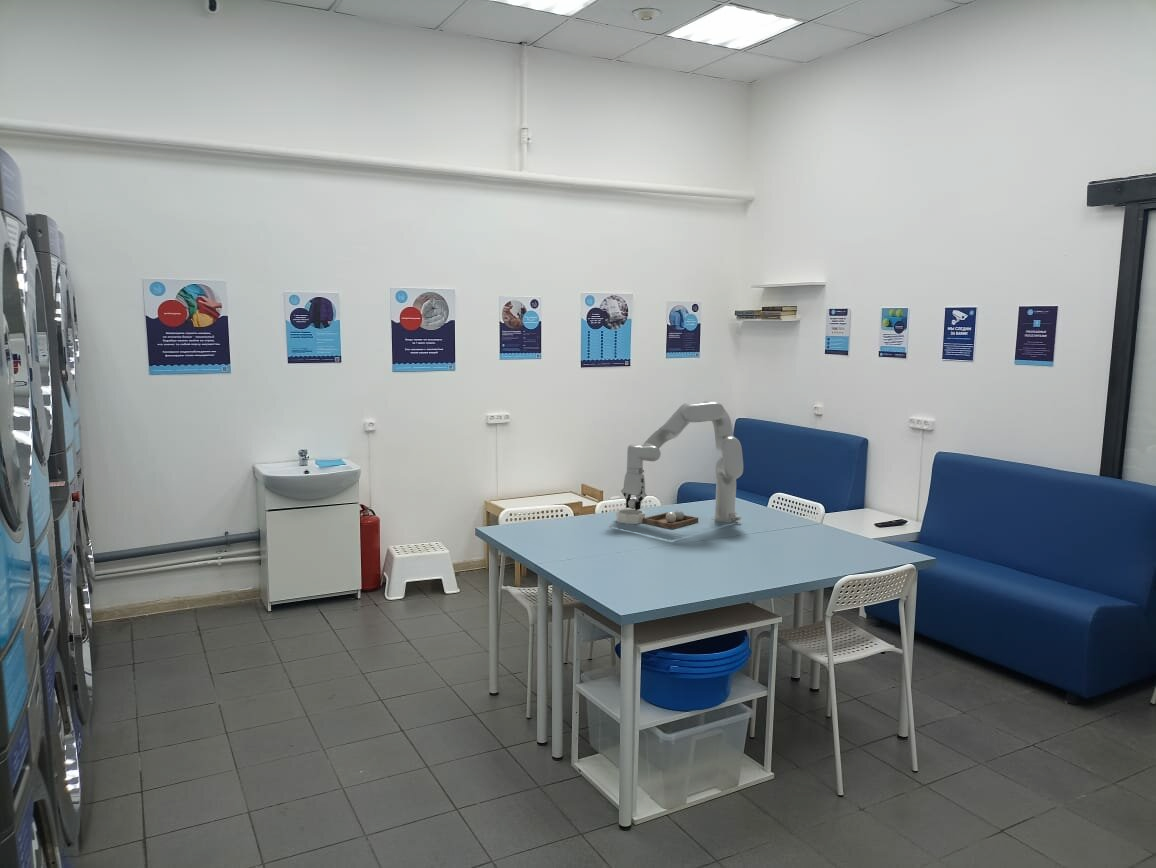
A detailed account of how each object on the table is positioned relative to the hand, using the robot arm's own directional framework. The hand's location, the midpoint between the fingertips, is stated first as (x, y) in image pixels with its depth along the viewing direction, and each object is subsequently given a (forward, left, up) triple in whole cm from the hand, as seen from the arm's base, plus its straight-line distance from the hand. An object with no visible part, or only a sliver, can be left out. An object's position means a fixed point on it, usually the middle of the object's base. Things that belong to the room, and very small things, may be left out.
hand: (633, 508), depth 387 cm
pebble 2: (-16, -9, -6) cm, 19 cm away
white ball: (0, 0, 0) cm, 0 cm away
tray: (-16, -9, -7) cm, 19 cm away
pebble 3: (-16, -16, -6) cm, 23 cm away
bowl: (0, +2, -6) cm, 7 cm away
